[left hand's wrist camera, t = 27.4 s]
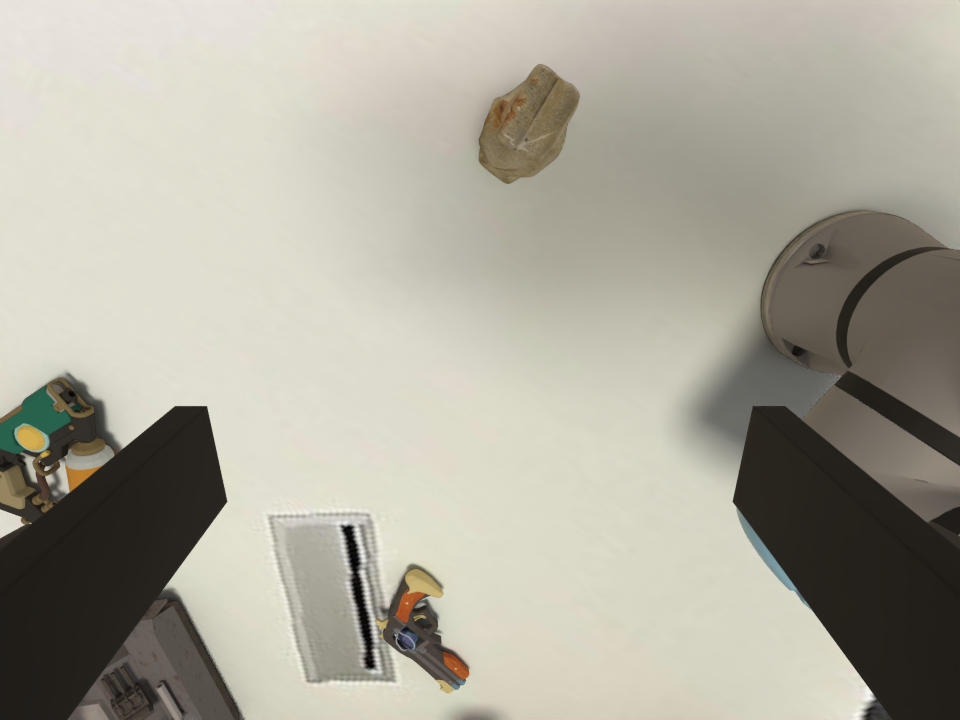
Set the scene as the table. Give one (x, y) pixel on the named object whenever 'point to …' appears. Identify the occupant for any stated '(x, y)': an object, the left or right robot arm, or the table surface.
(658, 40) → the table surface
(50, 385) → the spray gun
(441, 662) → the toy gun
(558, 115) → the sculpture
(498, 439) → the table surface
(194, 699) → the toy
